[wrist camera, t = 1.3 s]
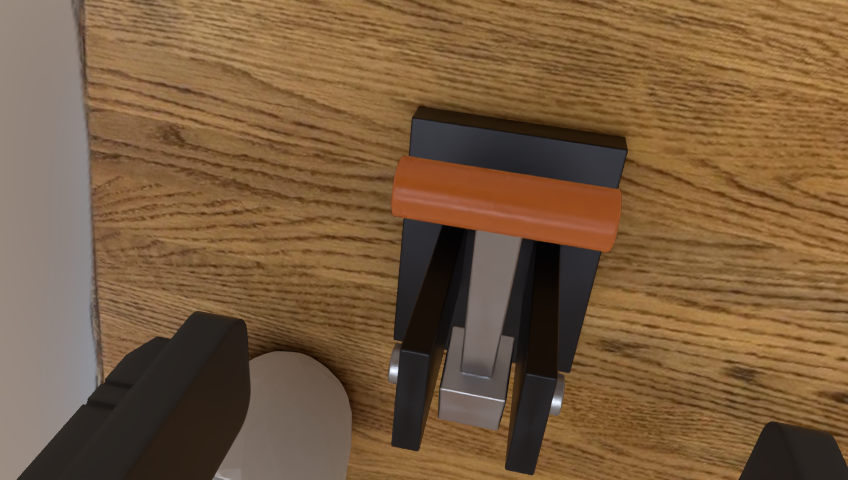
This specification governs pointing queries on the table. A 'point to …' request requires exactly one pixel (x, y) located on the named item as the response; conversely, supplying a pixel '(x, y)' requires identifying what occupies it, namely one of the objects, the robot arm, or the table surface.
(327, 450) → the mug
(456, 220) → the switch
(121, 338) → the table surface
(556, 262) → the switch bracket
